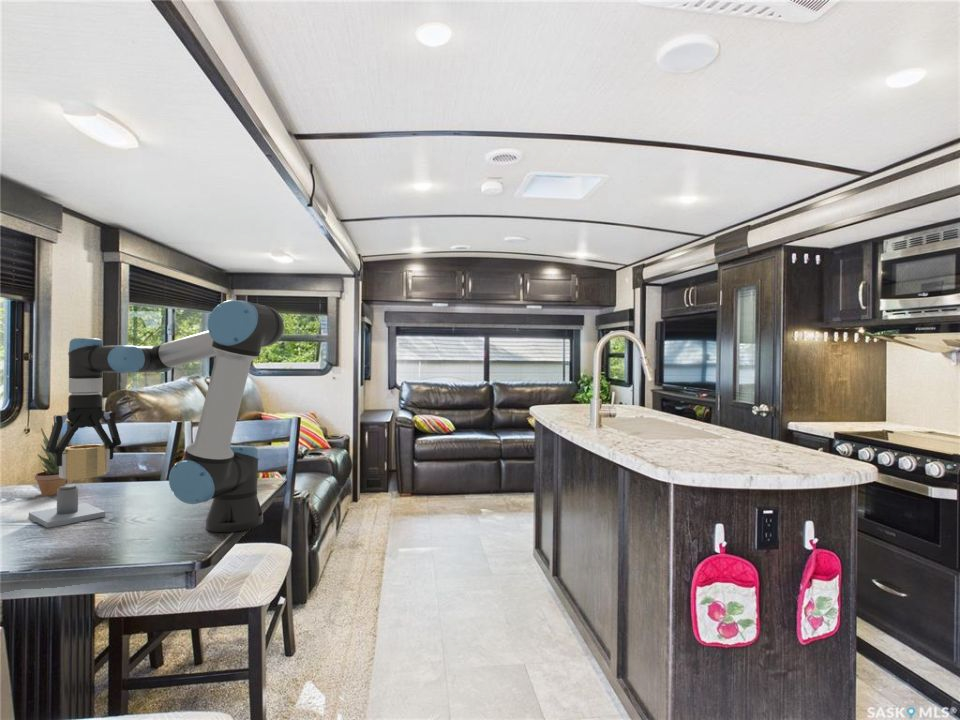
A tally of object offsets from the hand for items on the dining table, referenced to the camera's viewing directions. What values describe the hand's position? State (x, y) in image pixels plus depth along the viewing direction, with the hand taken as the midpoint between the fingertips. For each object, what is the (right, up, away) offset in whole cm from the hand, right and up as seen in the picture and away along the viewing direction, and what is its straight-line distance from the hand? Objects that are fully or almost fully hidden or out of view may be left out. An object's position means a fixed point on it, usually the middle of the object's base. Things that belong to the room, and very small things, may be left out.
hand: (84, 474), depth 144 cm
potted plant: (-41, -15, +39) cm, 58 cm away
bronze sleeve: (0, 0, 0) cm, 0 cm away
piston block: (-14, -15, +12) cm, 24 cm away
